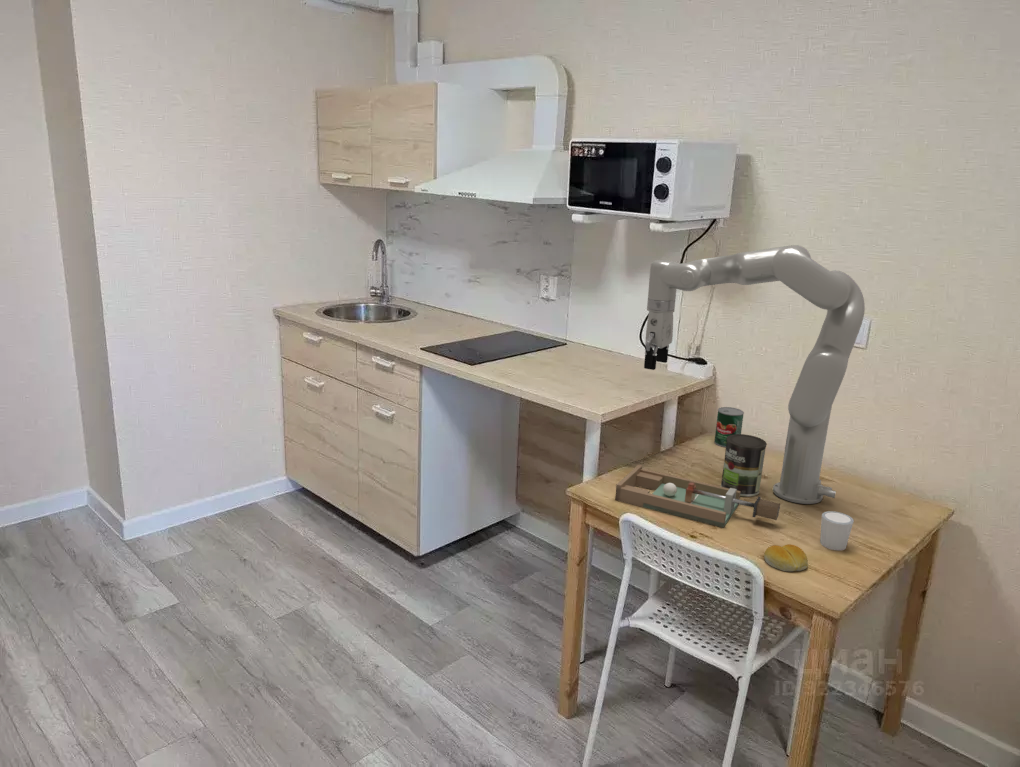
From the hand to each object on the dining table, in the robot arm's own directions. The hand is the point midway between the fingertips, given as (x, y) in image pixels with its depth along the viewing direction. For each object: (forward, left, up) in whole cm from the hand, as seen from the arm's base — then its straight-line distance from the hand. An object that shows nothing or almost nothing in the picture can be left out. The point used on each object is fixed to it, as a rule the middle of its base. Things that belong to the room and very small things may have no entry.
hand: (655, 365), depth 209 cm
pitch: (-16, +21, -30) cm, 40 cm away
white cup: (-54, +23, -30) cm, 66 cm away
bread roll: (-46, +38, -30) cm, 67 cm away
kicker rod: (-29, +21, -28) cm, 46 cm away
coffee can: (-28, +3, -30) cm, 41 cm away
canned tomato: (-16, -31, -30) cm, 46 cm away
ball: (-14, +21, -27) cm, 37 cm away
